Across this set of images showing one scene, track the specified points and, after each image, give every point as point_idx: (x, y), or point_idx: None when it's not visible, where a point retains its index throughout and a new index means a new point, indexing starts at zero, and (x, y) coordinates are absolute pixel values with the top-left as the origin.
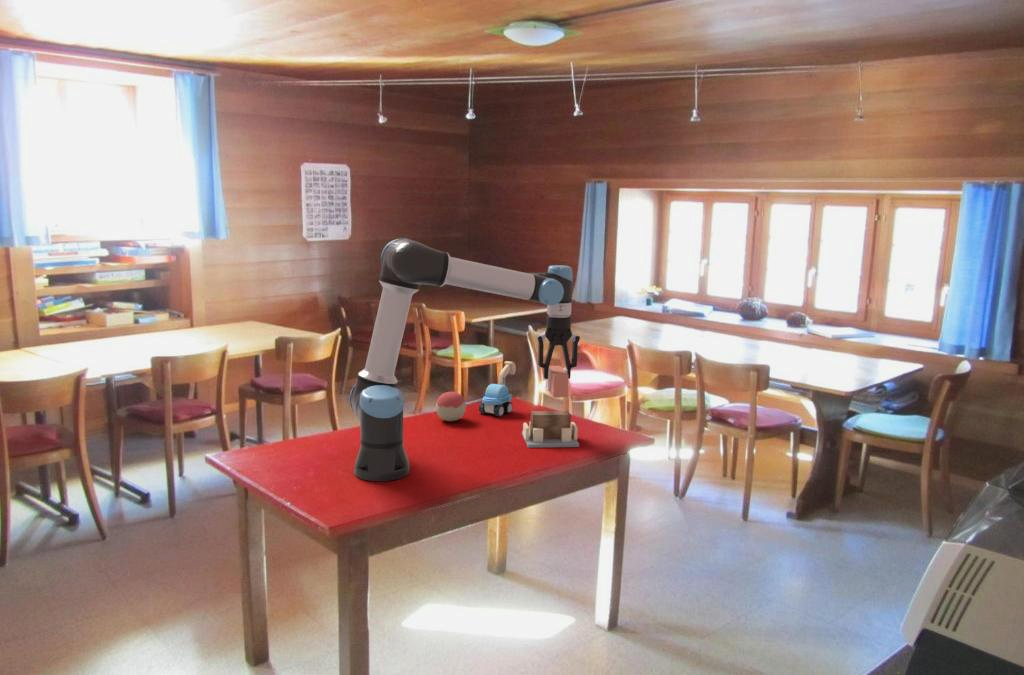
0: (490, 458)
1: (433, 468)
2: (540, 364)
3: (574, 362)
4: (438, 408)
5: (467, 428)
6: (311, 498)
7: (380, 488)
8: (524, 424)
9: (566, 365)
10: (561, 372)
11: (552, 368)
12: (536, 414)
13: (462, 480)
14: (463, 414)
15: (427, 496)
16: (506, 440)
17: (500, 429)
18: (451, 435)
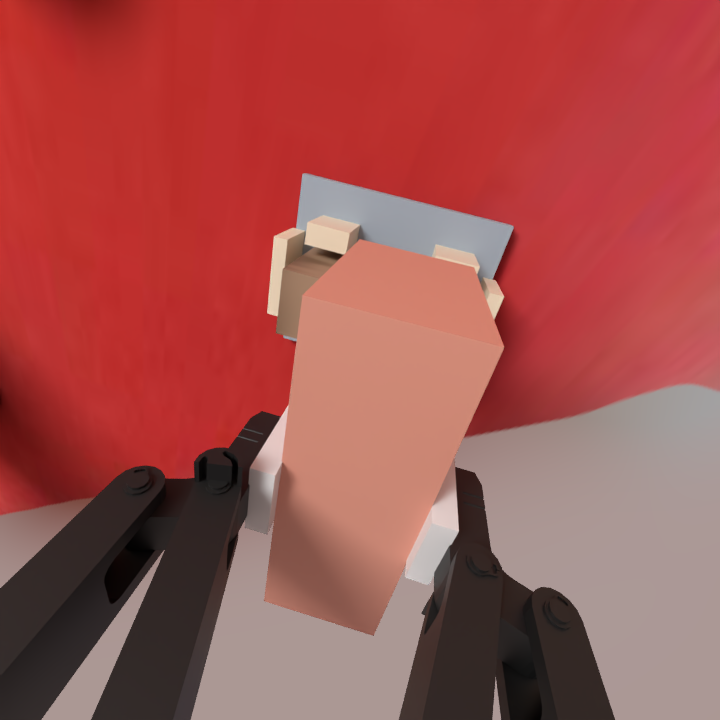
0: (169, 376)
1: (43, 389)
2: (130, 547)
3: (514, 697)
4: None
5: (86, 6)
6: None
7: None
8: (273, 263)
9: (447, 583)
10: (352, 575)
11: (328, 441)
12: (293, 329)
13: (111, 463)
14: None
15: (60, 495)
16: (232, 239)
17: (230, 69)
18: (36, 111)
